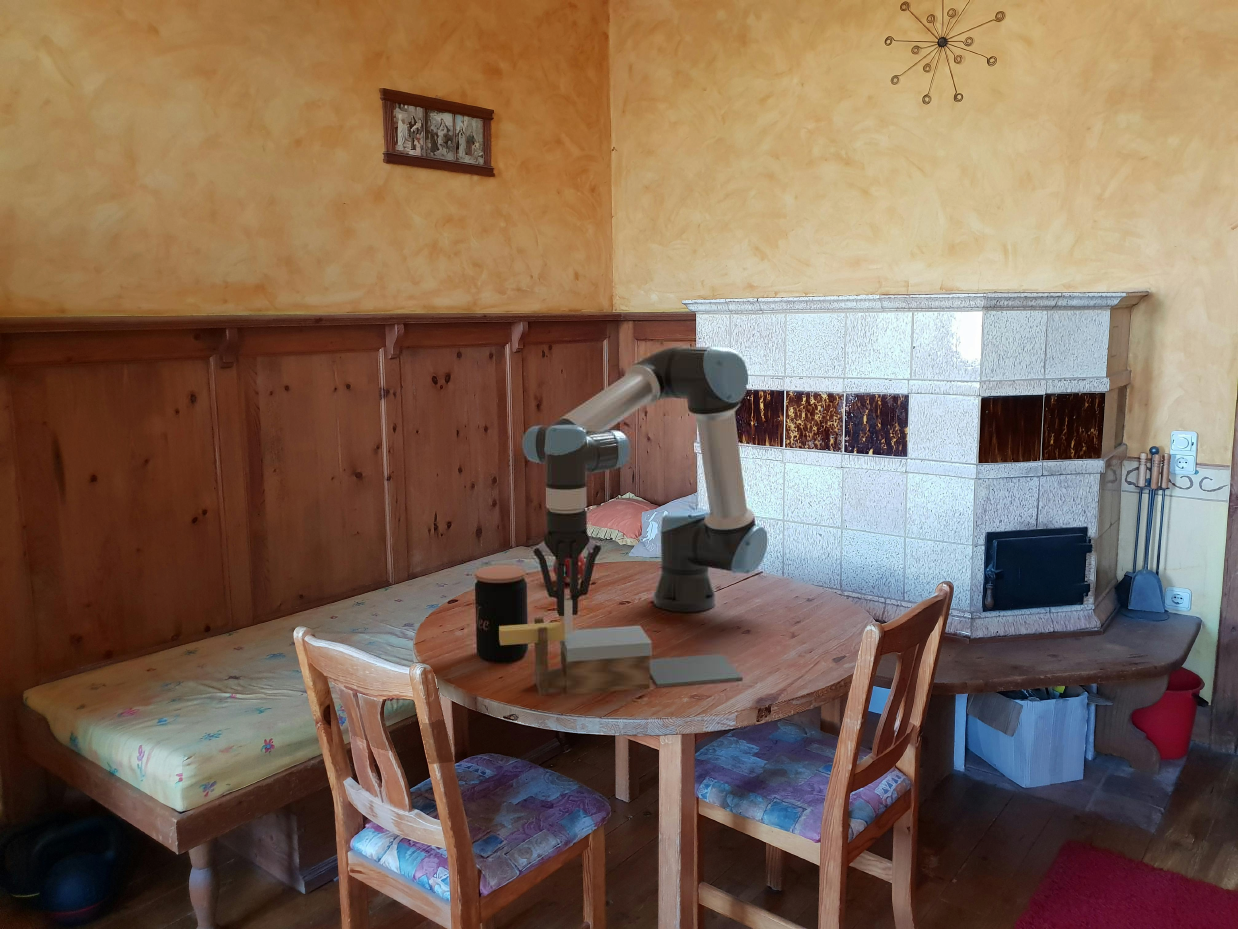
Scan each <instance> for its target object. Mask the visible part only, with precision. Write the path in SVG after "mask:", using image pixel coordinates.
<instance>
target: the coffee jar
mask: <svg viewBox="0 0 1238 929" xmlns="http://www.w3.org/2000/svg"><path fill="white" fill-rule="evenodd" d="M527 574H528V573H527V570H526V569H525V568H524V567H522V566H519V565H518V566H517V565H508V564H507V565H506V564H505V565H504V564H503V565H502V564H498V565H490V566H485V567H481V568H478V569H477V570H476V571H475V572H474V577H475V579H476V582H475V583H474V600H475V602H474V604H475V605H474V606H475V637H476V638H475V641H476V642H475V643H476V644H475V645H476V653H477V655H478V656H479V658H480V660H482V661H483V662H487V663H492V664H506V663H507V664H509V663H514V662H517V661H519V660H522V659H523V658H524V657H525V655H526V654H527V652H528V650H529V643H526V644H512V645H500V641H499V626H508V625H523V624H529V623H528V582H527V581H526V579H525V578H526V576H527Z"/></svg>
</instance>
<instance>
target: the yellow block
mask: <svg viewBox="0 0 1238 929" xmlns="http://www.w3.org/2000/svg"><path fill="white" fill-rule="evenodd" d="M538 627H547V633H548V642H549V643H551V642H553V643H554V642H560V641H565V626H564V624H563V621H556V622H544V623H538V624H534V623H528V624H523V625H508V626H499V641H500V645H512V644H526V643H528V644H535V643H538Z"/></svg>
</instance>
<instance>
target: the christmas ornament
mask: <svg viewBox="0 0 1238 929" xmlns="http://www.w3.org/2000/svg"><path fill="white" fill-rule="evenodd" d="M585 562H586V560H584V558H583V557H582V556H581V555H580V556H579V557H578V582H579V581H581V579H582V575H583V570H584V566H585ZM552 568H553V573H554V575H555V577H556V559H555V560H554V562H553V567H552ZM564 584H565V585H566V584H567V585H570V562H569V558H566V559H565V564H564Z"/></svg>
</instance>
